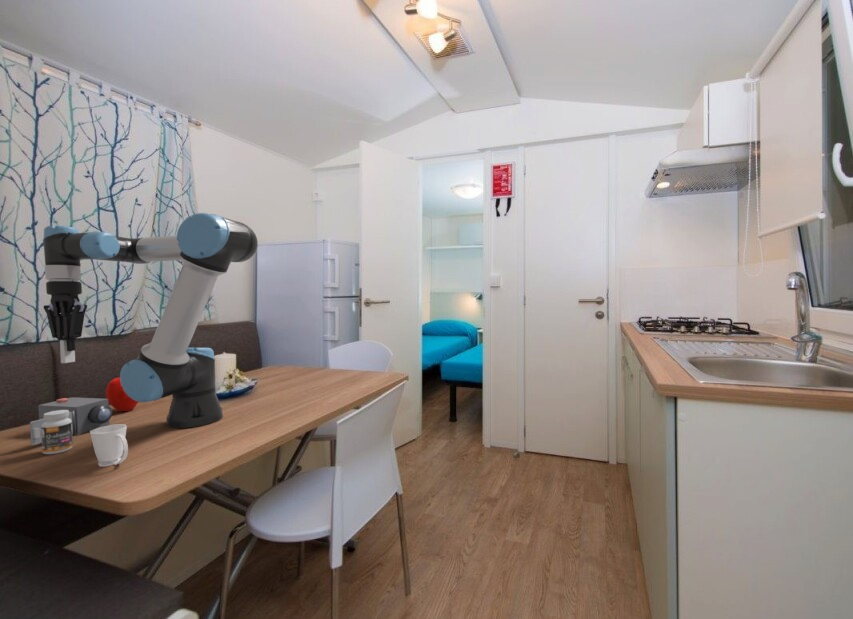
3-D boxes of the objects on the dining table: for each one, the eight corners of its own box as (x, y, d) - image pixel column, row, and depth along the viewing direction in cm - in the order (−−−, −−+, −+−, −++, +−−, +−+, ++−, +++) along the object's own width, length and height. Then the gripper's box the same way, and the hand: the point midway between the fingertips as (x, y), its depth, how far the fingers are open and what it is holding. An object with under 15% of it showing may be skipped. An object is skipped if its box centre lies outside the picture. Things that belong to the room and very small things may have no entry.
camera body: (116, 425, 120) (115, 396, 119) (84, 435, 111) (83, 405, 110) (73, 422, 123) (71, 395, 123) (38, 432, 114) (37, 403, 114)
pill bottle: (46, 457, 96) (44, 416, 96) (39, 452, 99) (37, 413, 99) (76, 449, 101) (74, 410, 100) (68, 445, 104) (66, 407, 103)
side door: (73, 432, 111) (72, 410, 111) (78, 432, 111) (77, 410, 111) (30, 445, 101) (29, 421, 101) (35, 446, 101) (34, 421, 101)
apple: (98, 414, 132) (96, 378, 131) (126, 406, 141) (125, 372, 141) (122, 415, 130) (120, 379, 129) (149, 407, 139) (148, 373, 139)
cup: (117, 454, 96) (116, 422, 96) (143, 460, 92) (142, 427, 92) (83, 466, 90) (81, 431, 90) (109, 473, 86) (108, 437, 86)
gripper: (95, 280, 115) (99, 360, 116) (60, 281, 118) (64, 359, 119) (67, 279, 108) (71, 364, 109) (31, 281, 111) (35, 364, 111)
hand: (68, 362), depth 114 cm, fingers closed
